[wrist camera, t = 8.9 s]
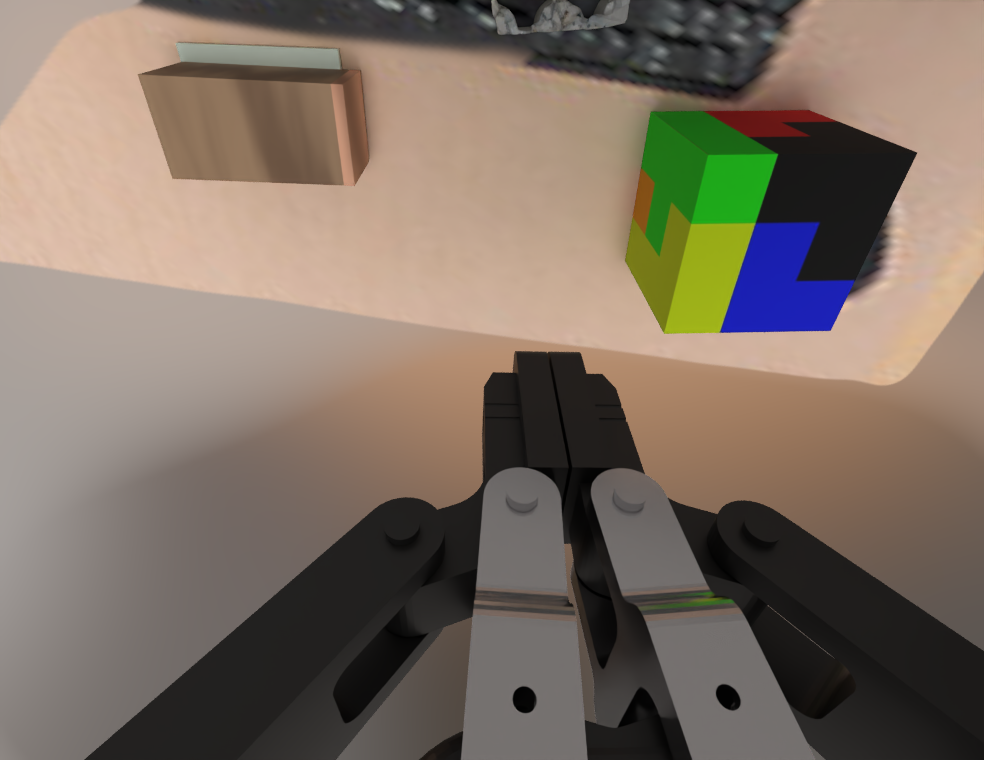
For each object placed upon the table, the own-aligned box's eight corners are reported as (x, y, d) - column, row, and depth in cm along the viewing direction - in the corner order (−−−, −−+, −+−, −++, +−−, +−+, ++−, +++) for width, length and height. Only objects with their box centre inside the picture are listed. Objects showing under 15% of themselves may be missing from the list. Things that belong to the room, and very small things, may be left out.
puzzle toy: (757, 258, 38) (830, 330, 30) (625, 260, 38) (664, 333, 30) (808, 109, 32) (917, 152, 24) (650, 111, 32) (708, 154, 24)
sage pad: (339, 48, 29) (337, 49, 29) (355, 174, 33) (354, 176, 33) (178, 42, 29) (175, 43, 28) (216, 170, 33) (213, 172, 33)
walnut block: (342, 84, 26) (137, 74, 25) (354, 185, 29) (172, 178, 28) (360, 70, 29) (183, 61, 29) (369, 160, 33) (209, 154, 32)
